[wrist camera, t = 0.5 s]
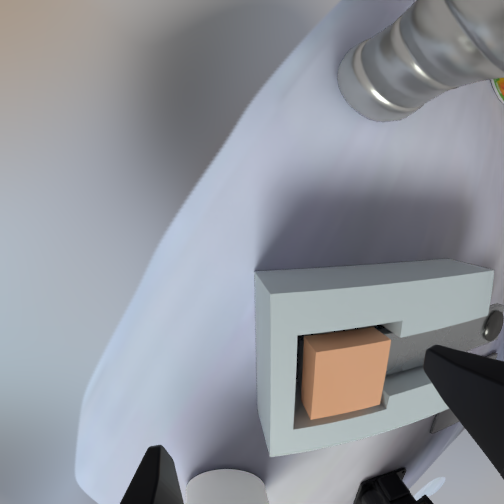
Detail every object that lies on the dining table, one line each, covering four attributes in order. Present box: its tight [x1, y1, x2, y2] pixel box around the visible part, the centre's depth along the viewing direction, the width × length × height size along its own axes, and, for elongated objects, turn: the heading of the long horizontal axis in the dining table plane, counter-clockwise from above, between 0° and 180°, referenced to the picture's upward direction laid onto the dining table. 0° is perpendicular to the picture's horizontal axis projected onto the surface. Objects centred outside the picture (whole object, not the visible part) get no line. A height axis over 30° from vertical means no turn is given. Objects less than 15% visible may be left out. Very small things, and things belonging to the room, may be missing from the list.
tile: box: [301, 327, 391, 420], centre depth 18 cm, size 5×5×2 cm
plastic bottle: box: [337, 0, 504, 122], centre depth 11 cm, size 6×7×20 cm
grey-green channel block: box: [254, 259, 494, 457], centre depth 21 cm, size 18×12×6 cm, turn 91°
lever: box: [298, 303, 504, 390], centre depth 21 cm, size 21×4×1 cm, turn 91°
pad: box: [430, 353, 497, 434], centre depth 27 cm, size 9×9×1 cm
